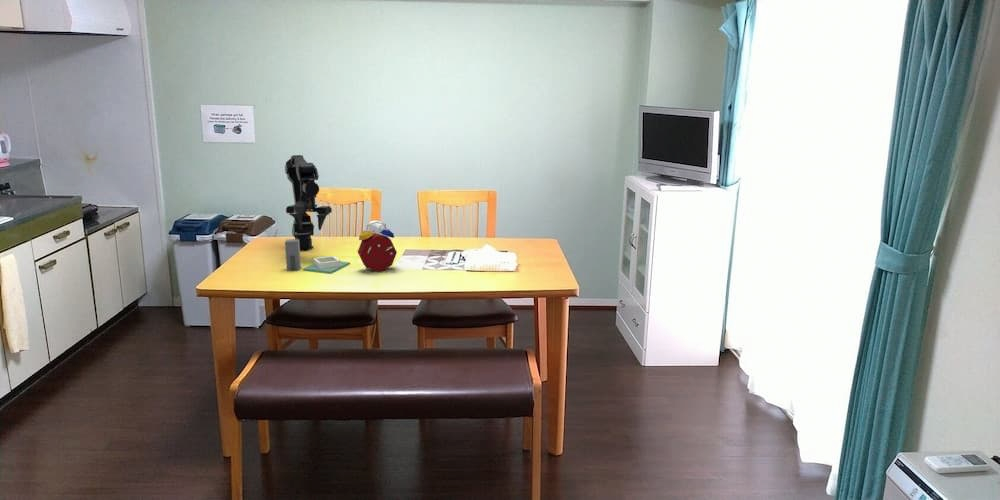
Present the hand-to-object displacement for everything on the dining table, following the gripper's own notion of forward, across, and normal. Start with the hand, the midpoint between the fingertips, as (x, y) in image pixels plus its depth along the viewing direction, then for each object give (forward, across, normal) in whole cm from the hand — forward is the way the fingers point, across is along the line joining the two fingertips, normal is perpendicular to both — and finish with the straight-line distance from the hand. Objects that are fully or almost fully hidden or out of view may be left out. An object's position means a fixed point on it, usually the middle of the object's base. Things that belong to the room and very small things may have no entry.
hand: (310, 229), depth 308 cm
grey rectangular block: (+13, +2, -17) cm, 22 cm away
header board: (+13, +13, -11) cm, 21 cm away
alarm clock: (+14, +35, -9) cm, 39 cm away
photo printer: (+12, +19, +26) cm, 34 cm away
